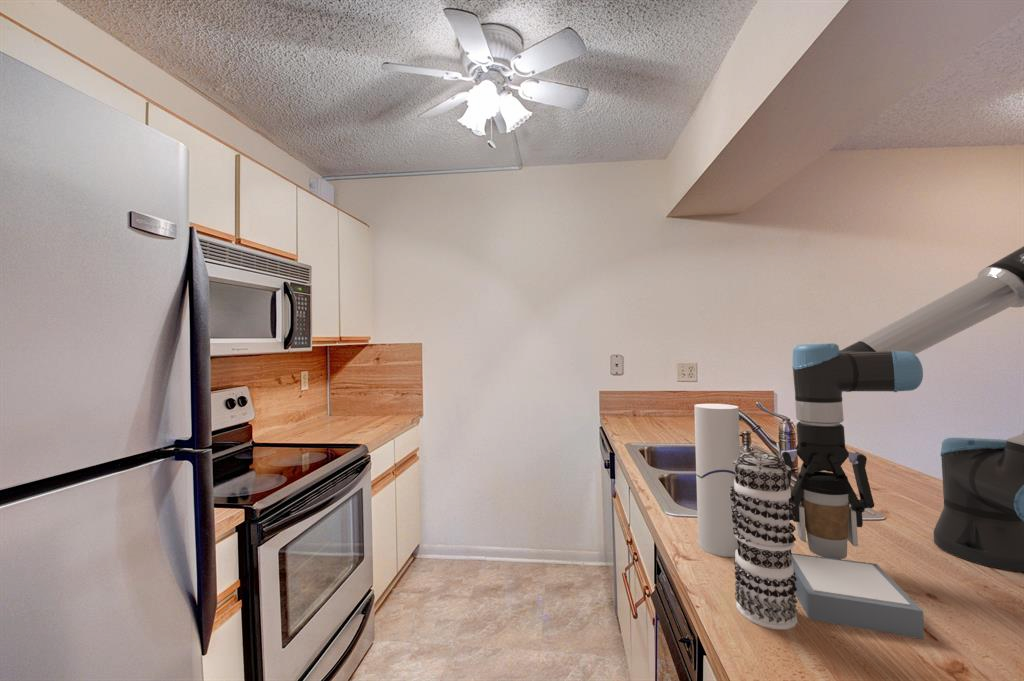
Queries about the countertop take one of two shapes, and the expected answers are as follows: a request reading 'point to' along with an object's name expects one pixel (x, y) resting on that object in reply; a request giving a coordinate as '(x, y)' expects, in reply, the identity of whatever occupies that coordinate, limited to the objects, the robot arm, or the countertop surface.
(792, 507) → the decorative candle
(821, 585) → the podium
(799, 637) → the countertop surface
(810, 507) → the coffee cup
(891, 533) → the countertop surface
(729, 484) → the container
